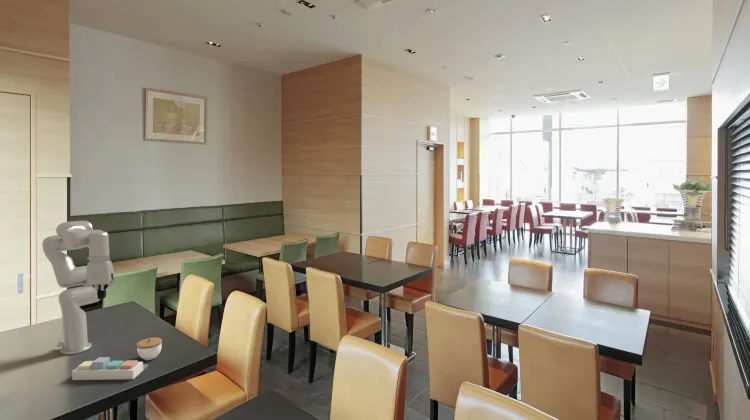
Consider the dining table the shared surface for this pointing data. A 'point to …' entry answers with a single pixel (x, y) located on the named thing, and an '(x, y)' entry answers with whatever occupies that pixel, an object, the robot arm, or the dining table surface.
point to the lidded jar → (149, 348)
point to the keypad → (108, 373)
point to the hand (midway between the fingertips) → (101, 298)
